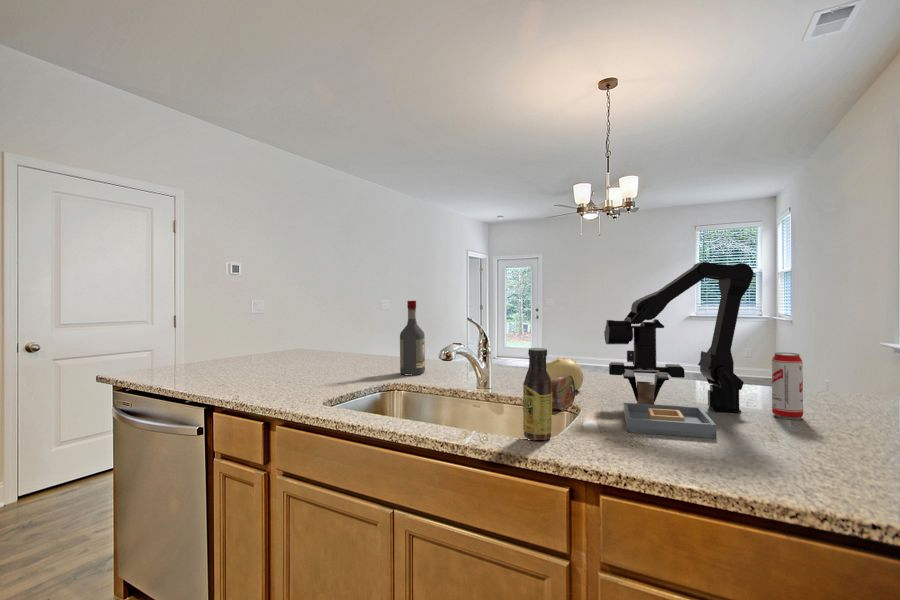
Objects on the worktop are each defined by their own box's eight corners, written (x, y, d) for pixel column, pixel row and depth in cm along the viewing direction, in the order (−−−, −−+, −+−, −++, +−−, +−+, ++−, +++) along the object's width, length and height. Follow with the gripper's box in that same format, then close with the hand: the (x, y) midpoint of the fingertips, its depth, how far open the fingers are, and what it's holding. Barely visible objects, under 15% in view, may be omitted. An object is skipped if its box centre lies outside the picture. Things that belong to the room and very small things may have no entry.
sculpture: (569, 385, 156) (568, 354, 156) (590, 392, 145) (590, 359, 145) (540, 387, 153) (539, 356, 153) (559, 395, 141) (559, 361, 141)
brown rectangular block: (652, 407, 125) (652, 382, 125) (654, 410, 121) (654, 384, 121) (637, 406, 126) (636, 381, 126) (638, 409, 122) (637, 384, 122)
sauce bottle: (520, 434, 102) (519, 347, 102) (547, 432, 103) (546, 346, 103) (527, 443, 96) (526, 350, 95) (556, 442, 96) (555, 349, 96)
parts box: (700, 419, 112) (700, 407, 112) (716, 438, 97) (716, 424, 97) (623, 414, 118) (623, 402, 118) (627, 431, 103) (627, 418, 103)
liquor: (399, 375, 181) (397, 301, 181) (405, 371, 190) (403, 300, 190) (421, 375, 179) (420, 300, 179) (426, 371, 188) (425, 300, 188)
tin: (558, 413, 120) (557, 382, 120) (547, 412, 121) (546, 381, 121) (576, 402, 132) (576, 373, 132) (565, 400, 134) (565, 372, 134)
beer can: (797, 414, 115) (796, 352, 115) (807, 421, 109) (807, 355, 109) (768, 412, 117) (768, 351, 117) (777, 419, 111) (776, 354, 111)
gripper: (677, 342, 128) (678, 396, 128) (608, 340, 134) (608, 393, 134) (684, 346, 118) (685, 405, 118) (609, 344, 123) (609, 401, 124)
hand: (645, 400), depth 124 cm, fingers closed on brown rectangular block, 4 cm apart
